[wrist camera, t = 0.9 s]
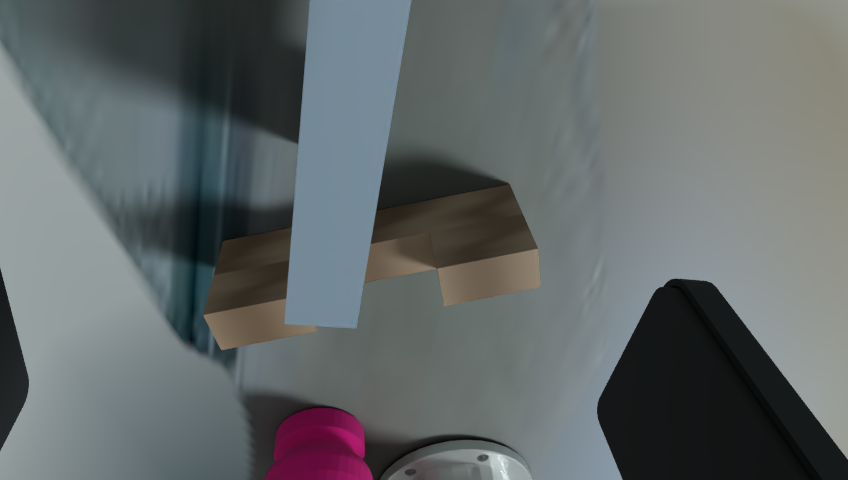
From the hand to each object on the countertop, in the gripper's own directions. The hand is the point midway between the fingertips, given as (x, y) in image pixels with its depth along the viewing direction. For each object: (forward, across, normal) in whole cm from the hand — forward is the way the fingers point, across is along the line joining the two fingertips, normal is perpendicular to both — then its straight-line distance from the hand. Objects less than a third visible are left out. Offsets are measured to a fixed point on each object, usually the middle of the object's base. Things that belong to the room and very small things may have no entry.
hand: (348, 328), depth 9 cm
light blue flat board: (+22, 0, 0) cm, 22 cm away
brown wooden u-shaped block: (+22, -3, +13) cm, 25 cm away
